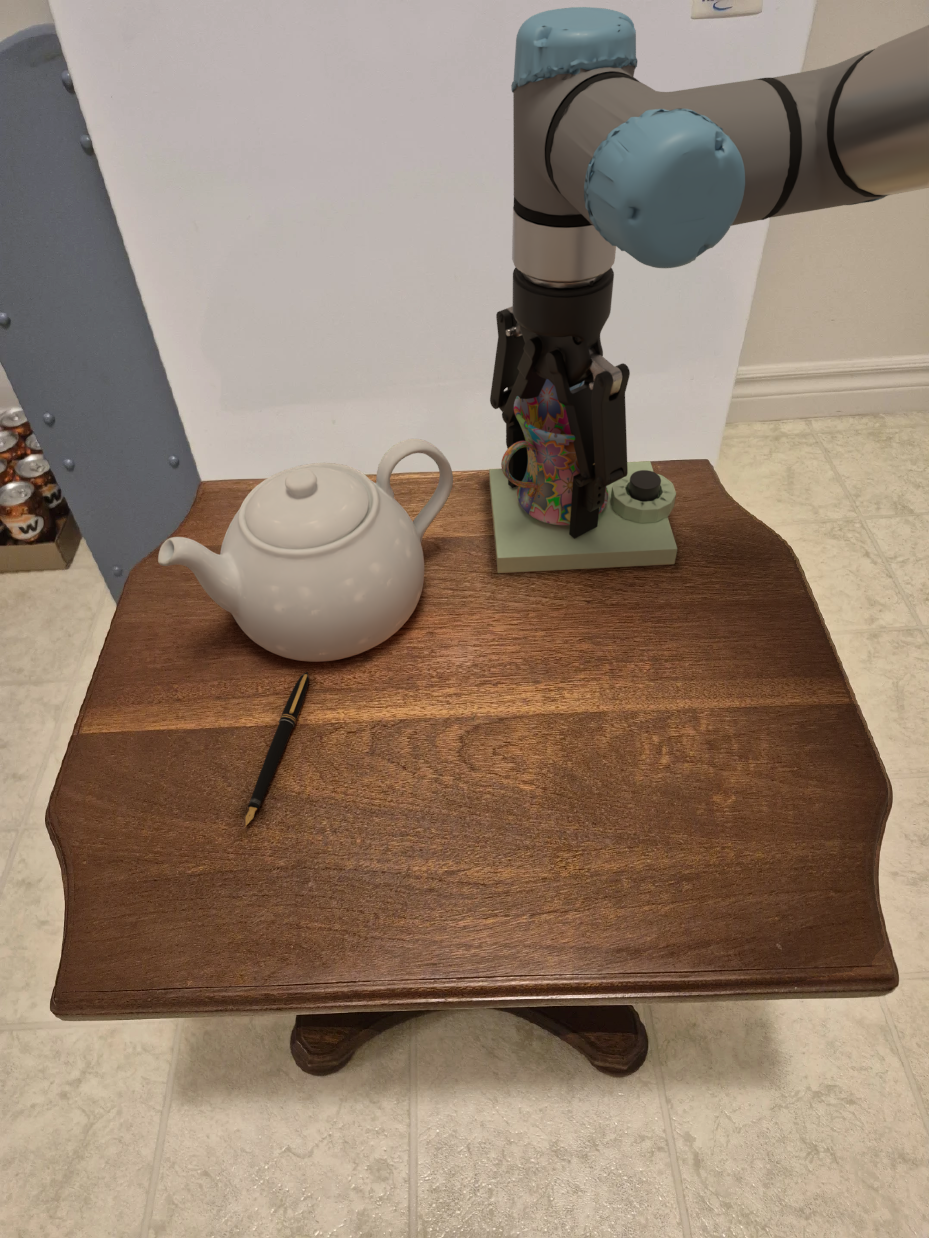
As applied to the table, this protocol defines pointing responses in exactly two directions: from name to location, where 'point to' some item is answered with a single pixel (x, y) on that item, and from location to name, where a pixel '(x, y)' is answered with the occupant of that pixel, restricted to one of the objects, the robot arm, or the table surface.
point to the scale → (615, 542)
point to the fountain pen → (278, 744)
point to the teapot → (320, 558)
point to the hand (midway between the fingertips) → (551, 504)
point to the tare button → (644, 485)
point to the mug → (546, 457)
